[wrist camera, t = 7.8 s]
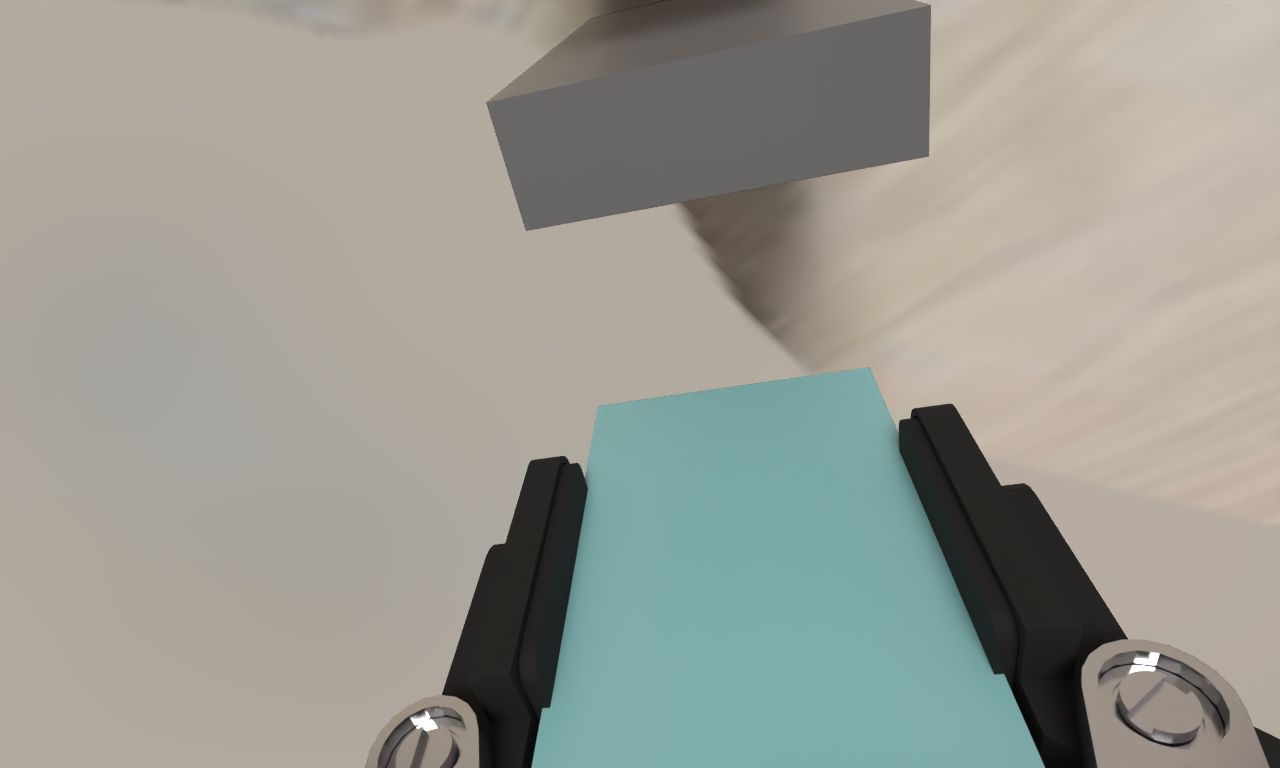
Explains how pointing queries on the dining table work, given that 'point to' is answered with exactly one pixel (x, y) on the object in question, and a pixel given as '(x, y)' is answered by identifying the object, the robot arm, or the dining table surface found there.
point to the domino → (713, 103)
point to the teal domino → (767, 596)
